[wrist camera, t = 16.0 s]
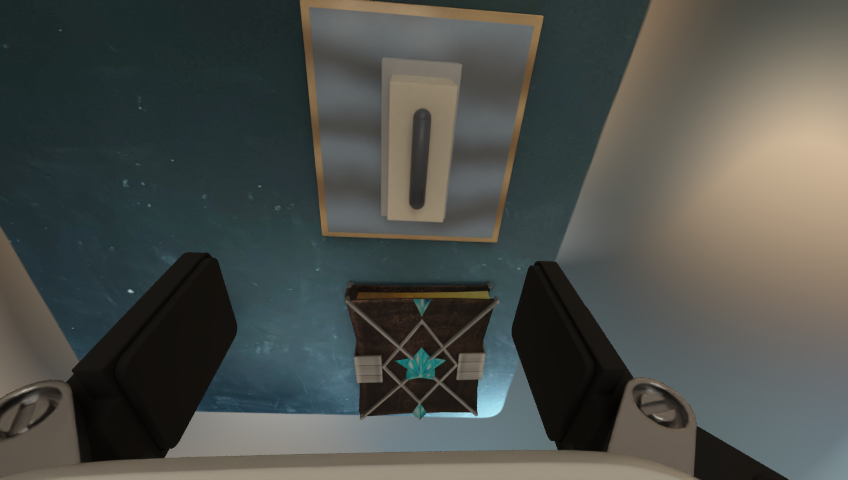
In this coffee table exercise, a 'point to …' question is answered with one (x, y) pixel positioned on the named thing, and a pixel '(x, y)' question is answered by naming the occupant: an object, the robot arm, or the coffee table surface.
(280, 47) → the coffee table surface
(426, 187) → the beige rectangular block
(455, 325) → the book
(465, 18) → the board
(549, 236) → the coffee table surface
